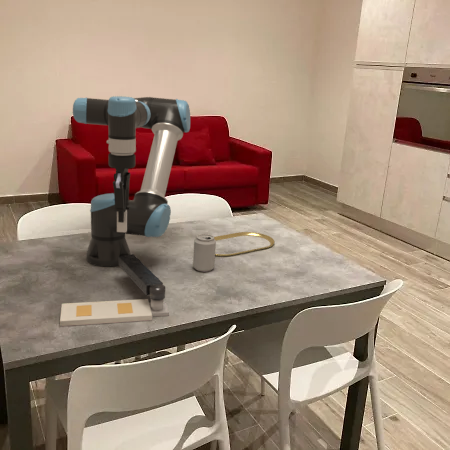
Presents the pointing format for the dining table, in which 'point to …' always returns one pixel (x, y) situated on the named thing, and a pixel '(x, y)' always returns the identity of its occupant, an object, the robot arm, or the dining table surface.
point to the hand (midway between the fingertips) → (121, 231)
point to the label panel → (111, 311)
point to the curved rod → (244, 235)
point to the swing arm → (142, 276)
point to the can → (204, 252)
